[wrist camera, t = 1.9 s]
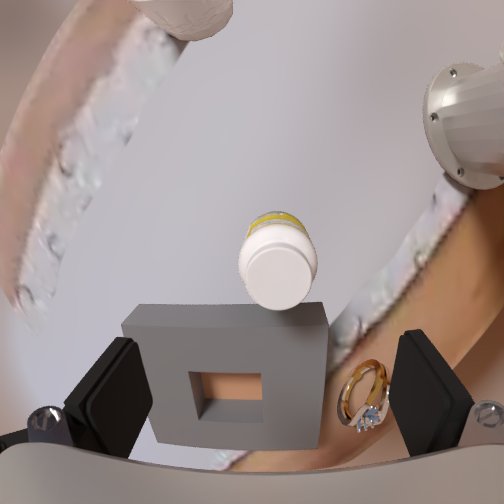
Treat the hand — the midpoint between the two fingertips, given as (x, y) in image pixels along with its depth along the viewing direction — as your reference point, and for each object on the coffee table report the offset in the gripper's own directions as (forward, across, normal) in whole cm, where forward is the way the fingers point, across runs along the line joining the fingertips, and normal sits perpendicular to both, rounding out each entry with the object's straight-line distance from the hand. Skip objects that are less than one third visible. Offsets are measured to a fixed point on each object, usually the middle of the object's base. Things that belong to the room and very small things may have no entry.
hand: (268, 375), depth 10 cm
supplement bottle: (+19, 0, 0) cm, 19 cm away
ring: (+19, -8, +14) cm, 25 cm away
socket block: (+19, +4, +14) cm, 24 cm away
